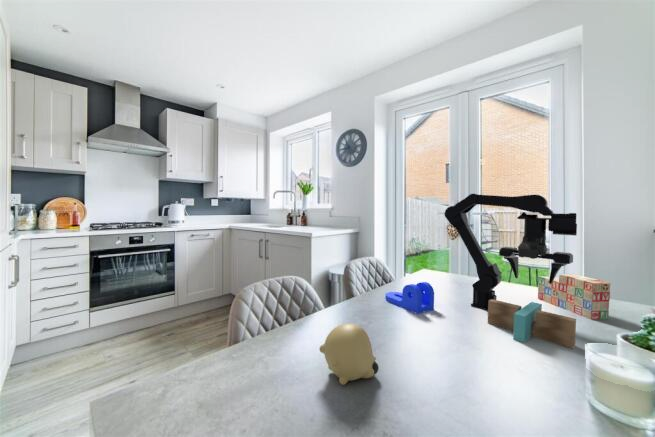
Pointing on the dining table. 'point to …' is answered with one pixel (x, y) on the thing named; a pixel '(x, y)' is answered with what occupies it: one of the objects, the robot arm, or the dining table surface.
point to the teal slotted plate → (525, 321)
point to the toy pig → (349, 353)
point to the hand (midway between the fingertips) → (532, 280)
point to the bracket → (413, 297)
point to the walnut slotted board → (535, 323)
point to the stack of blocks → (576, 294)
